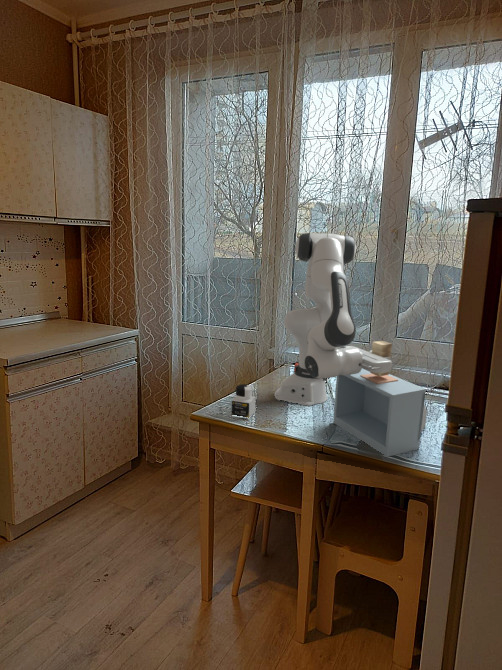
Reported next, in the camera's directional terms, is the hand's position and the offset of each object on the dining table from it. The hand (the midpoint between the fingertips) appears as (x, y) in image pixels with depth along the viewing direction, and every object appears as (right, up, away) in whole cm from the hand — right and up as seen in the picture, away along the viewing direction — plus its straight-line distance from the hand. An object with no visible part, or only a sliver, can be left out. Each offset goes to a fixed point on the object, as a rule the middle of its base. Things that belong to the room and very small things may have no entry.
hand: (382, 356), depth 163 cm
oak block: (-1, -6, +1) cm, 6 cm away
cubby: (-2, -28, +6) cm, 29 cm away
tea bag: (+17, -27, +13) cm, 35 cm away
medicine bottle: (-48, -24, +21) cm, 58 cm away
